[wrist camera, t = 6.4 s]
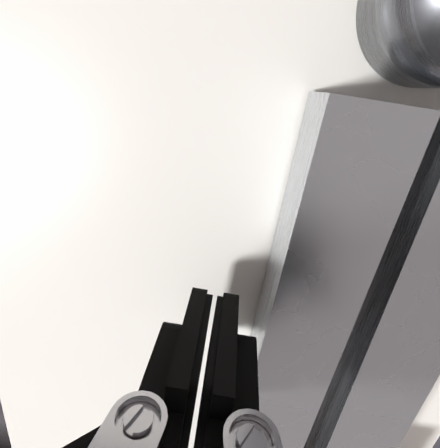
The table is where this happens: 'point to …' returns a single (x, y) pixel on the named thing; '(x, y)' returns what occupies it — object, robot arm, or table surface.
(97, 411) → the cutting board
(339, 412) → the tong pivot and fixed arm
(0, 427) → the table surface
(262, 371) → the arm
